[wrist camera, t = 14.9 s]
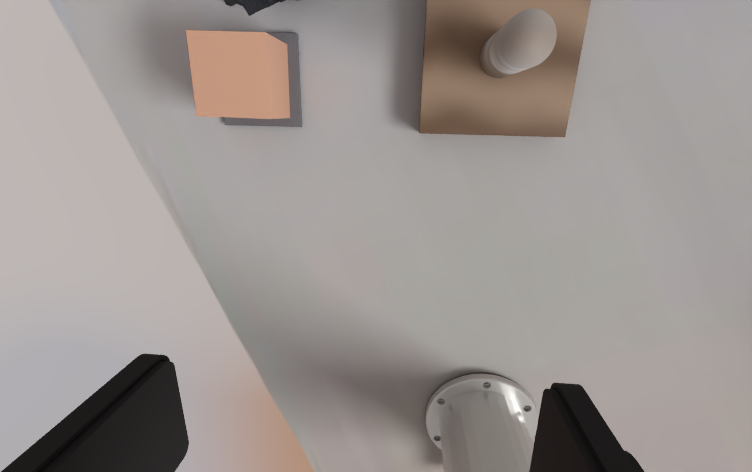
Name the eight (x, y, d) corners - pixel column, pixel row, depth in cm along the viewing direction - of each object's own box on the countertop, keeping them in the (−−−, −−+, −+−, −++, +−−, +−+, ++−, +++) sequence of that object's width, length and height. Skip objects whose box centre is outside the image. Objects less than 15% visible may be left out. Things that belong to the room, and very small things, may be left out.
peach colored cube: (287, 44, 31) (265, 32, 26) (290, 117, 33) (270, 119, 28) (219, 42, 31) (186, 30, 26) (226, 115, 33) (196, 116, 28)
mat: (301, 126, 33) (300, 126, 33) (227, 124, 34) (224, 124, 33) (297, 34, 31) (296, 33, 30) (216, 33, 31) (214, 32, 31)
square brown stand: (555, 135, 32) (609, 144, 23) (418, 131, 33) (422, 139, 24) (584, -26, 28) (662, -87, 19) (427, -25, 29) (436, -82, 20)
